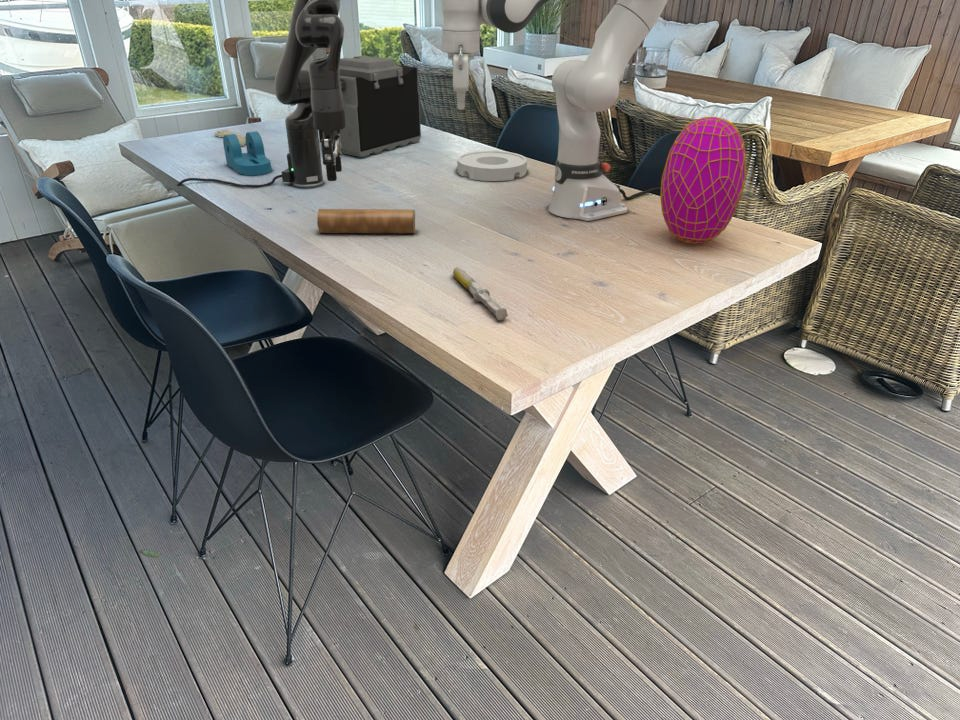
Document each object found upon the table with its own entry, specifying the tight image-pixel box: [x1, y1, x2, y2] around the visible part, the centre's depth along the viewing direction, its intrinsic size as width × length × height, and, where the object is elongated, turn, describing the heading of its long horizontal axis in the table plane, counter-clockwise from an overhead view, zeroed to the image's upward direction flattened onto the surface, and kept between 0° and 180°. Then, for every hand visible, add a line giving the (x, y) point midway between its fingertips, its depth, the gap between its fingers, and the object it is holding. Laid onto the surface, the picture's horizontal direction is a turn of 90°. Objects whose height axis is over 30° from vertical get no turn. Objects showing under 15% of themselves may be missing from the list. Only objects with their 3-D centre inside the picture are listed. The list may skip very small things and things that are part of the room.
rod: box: [316, 208, 416, 234], centre depth 176 cm, size 24×6×6 cm, turn 91°
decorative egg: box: [659, 116, 747, 244], centre depth 167 cm, size 19×19×30 cm
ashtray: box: [456, 150, 528, 182], centre depth 228 cm, size 23×23×4 cm
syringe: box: [452, 266, 509, 321], centre depth 145 cm, size 25×4×3 cm, turn 21°
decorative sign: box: [214, 129, 246, 147], centre depth 266 cm, size 26×1×10 cm
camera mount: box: [222, 131, 272, 176], centre depth 226 cm, size 18×10×10 cm, turn 35°
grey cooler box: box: [318, 55, 422, 159], centre depth 250 cm, size 37×22×30 cm, turn 144°
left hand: (334, 176), depth 171 cm, fingers open, 8 cm apart
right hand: (461, 105), depth 168 cm, fingers open, 8 cm apart
